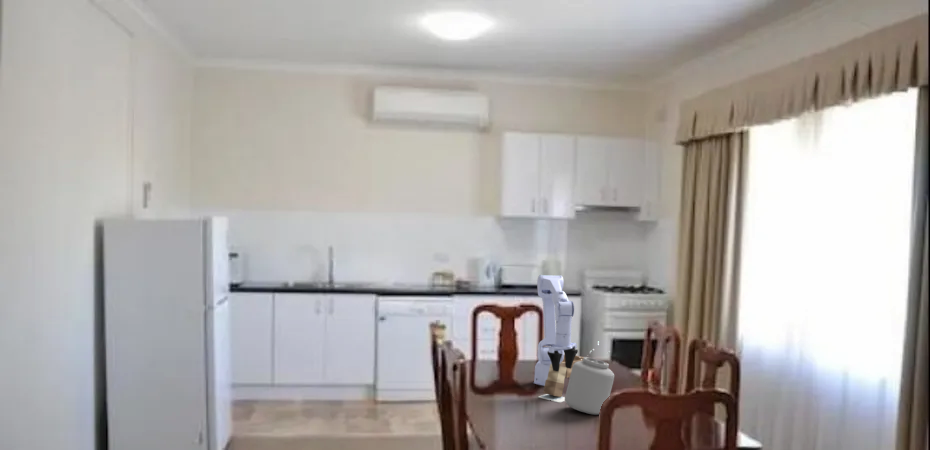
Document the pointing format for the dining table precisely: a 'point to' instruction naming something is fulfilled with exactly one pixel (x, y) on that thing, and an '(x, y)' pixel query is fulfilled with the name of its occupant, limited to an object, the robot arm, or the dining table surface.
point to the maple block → (557, 374)
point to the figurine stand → (576, 359)
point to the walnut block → (553, 388)
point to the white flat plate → (552, 398)
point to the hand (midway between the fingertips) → (562, 369)
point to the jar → (589, 385)
